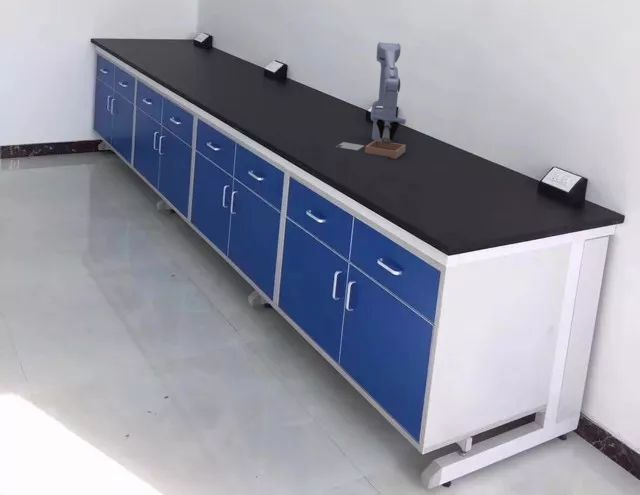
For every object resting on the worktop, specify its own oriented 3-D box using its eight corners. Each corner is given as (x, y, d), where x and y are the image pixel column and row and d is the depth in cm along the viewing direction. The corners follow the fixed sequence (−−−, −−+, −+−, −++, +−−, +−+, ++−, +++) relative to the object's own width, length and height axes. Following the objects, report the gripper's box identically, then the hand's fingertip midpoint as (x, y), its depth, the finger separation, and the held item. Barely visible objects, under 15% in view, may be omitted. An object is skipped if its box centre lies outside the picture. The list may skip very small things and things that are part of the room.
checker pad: (343, 143, 352) (343, 141, 351) (364, 147, 348) (364, 145, 348) (335, 148, 343) (335, 146, 342) (357, 152, 340) (357, 149, 339)
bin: (374, 147, 349) (375, 140, 348) (405, 152, 345) (405, 144, 343) (364, 154, 337) (365, 146, 335) (396, 159, 332) (396, 151, 331)
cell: (383, 141, 341) (384, 124, 338) (391, 142, 340) (393, 125, 337) (380, 142, 338) (381, 125, 335) (389, 144, 336) (391, 127, 334)
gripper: (370, 106, 332) (367, 137, 337) (403, 110, 328) (400, 142, 332) (375, 103, 338) (372, 134, 343) (408, 108, 334) (404, 139, 339)
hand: (386, 138), depth 338 cm, fingers closed on cell, 4 cm apart
